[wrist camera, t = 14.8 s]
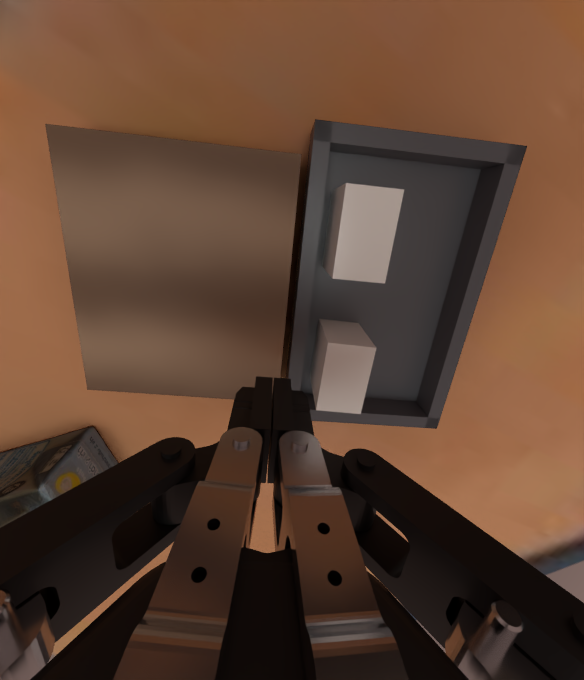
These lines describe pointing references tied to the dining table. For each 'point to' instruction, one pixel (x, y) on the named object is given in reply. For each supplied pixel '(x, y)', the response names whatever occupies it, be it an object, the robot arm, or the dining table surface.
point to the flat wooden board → (175, 259)
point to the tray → (402, 261)
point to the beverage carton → (49, 470)
